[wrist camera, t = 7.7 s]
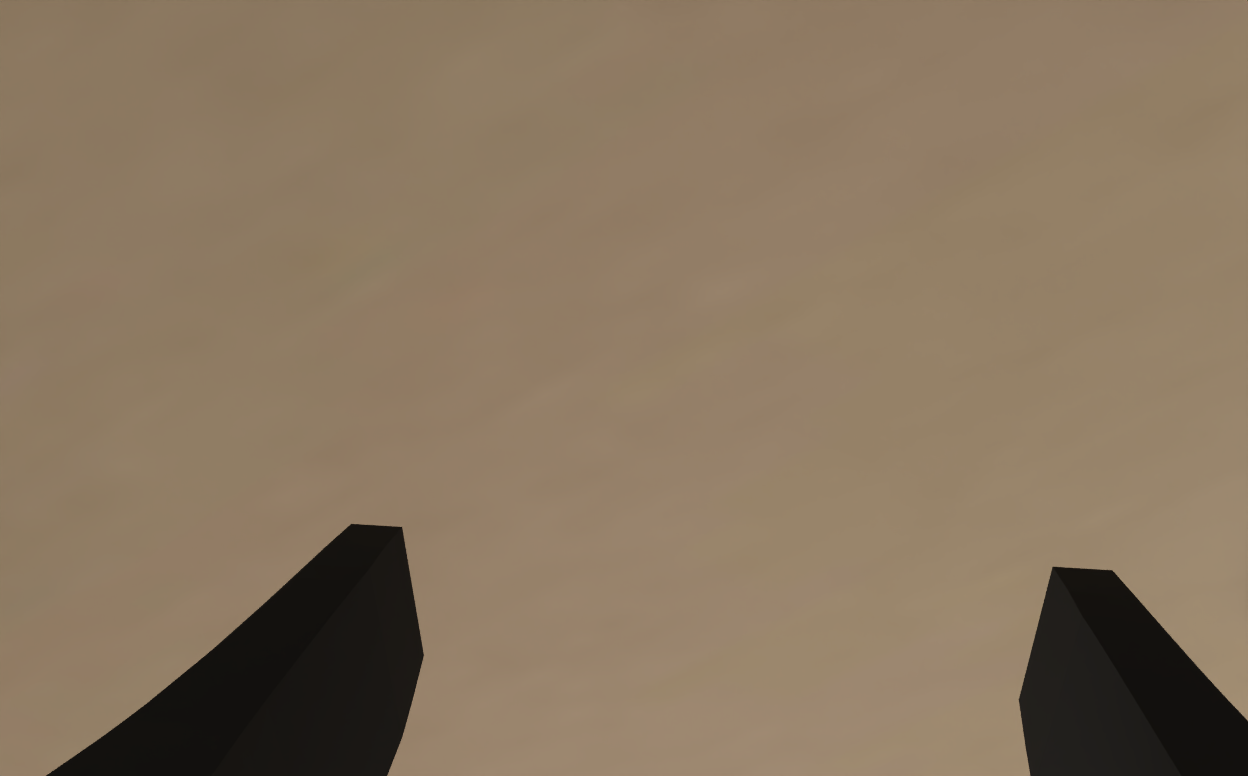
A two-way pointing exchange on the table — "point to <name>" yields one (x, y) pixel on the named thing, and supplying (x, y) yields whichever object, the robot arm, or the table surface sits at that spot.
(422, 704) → the table surface
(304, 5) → the table surface
